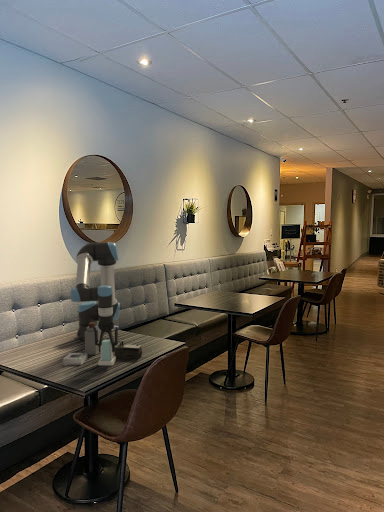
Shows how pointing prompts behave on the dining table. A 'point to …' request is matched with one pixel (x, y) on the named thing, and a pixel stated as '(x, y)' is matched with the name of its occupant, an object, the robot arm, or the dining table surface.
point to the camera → (128, 351)
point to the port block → (74, 359)
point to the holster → (107, 362)
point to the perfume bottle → (91, 339)
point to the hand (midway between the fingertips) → (107, 357)
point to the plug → (106, 350)
